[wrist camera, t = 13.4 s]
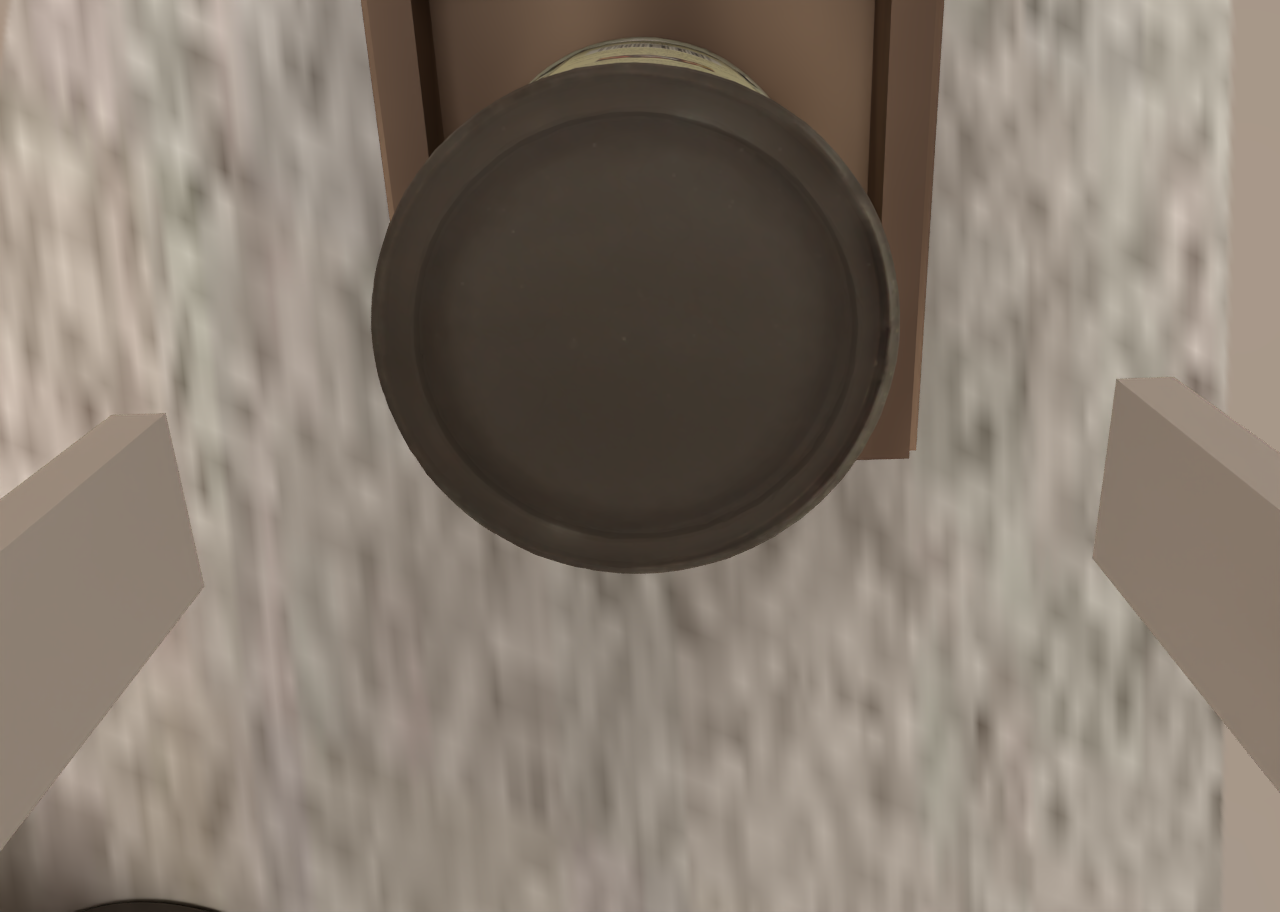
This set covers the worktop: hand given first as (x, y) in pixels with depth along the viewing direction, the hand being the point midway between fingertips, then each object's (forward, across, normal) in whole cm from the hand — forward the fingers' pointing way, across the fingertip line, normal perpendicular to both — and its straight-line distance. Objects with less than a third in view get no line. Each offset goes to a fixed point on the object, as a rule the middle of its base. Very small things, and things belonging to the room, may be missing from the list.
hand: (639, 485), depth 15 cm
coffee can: (+21, 0, 0) cm, 21 cm away
